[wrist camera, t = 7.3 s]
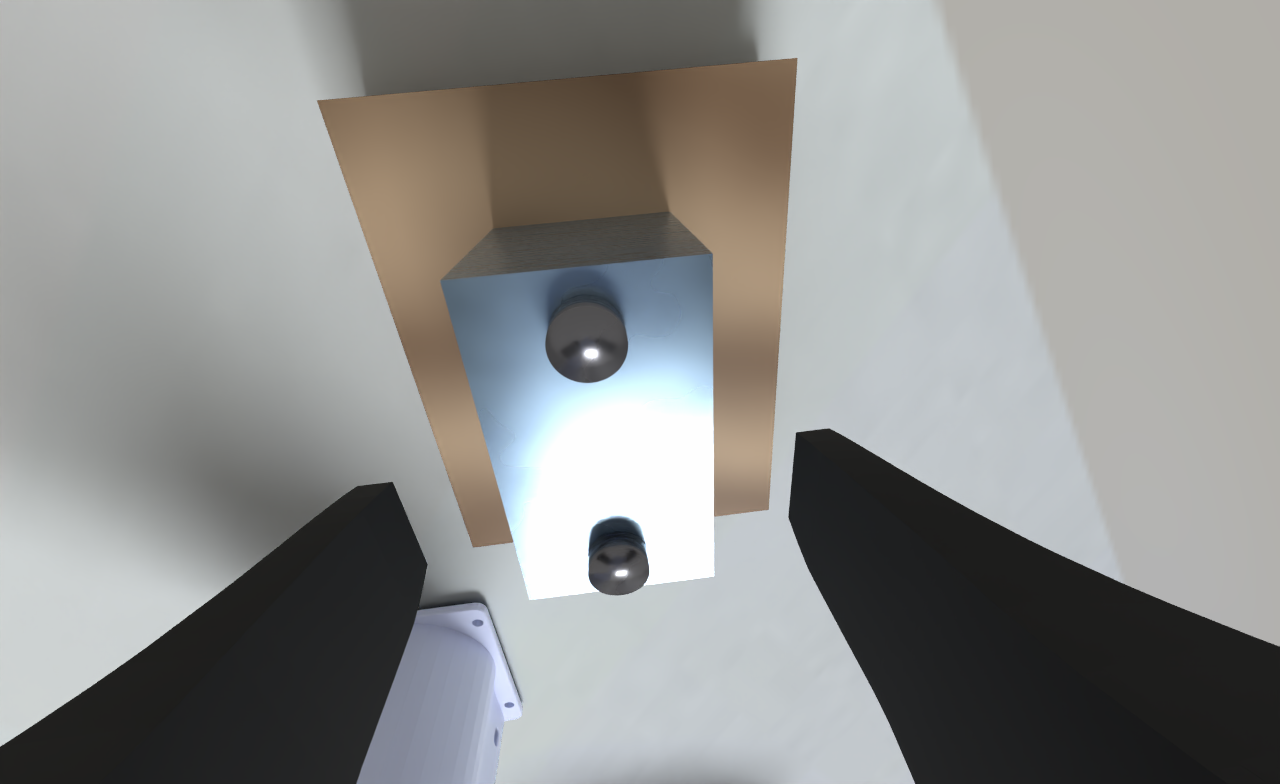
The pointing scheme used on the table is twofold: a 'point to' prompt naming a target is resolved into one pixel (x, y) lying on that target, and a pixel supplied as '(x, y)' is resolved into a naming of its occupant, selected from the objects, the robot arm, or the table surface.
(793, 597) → the table surface
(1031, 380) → the table surface
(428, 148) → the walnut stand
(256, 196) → the table surface
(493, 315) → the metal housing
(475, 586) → the table surface
